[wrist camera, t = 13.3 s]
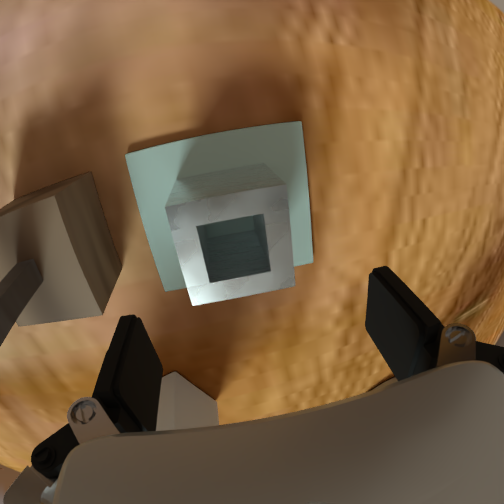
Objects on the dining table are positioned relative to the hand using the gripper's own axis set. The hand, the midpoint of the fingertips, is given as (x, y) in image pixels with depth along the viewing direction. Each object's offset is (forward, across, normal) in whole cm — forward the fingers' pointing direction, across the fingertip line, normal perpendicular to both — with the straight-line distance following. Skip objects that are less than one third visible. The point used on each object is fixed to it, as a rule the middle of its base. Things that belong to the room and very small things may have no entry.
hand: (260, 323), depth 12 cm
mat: (+12, +1, -1) cm, 12 cm away
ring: (+11, +1, -1) cm, 11 cm away
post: (+11, +14, -2) cm, 18 cm away
